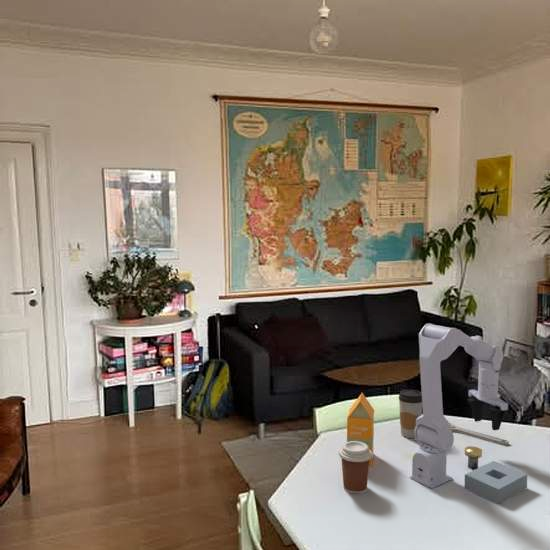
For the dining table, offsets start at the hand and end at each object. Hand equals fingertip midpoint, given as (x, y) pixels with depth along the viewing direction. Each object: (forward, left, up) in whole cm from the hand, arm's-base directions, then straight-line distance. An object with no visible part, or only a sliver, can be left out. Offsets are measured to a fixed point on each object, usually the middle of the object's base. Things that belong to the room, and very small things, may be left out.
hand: (486, 425), depth 162 cm
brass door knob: (-10, -2, -10) cm, 15 cm away
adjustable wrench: (+10, +12, -10) cm, 19 cm away
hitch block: (-16, -13, -10) cm, 23 cm away
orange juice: (-33, +22, -10) cm, 41 cm away
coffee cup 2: (-6, +25, -10) cm, 27 cm away
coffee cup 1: (-47, +10, -10) cm, 49 cm away
